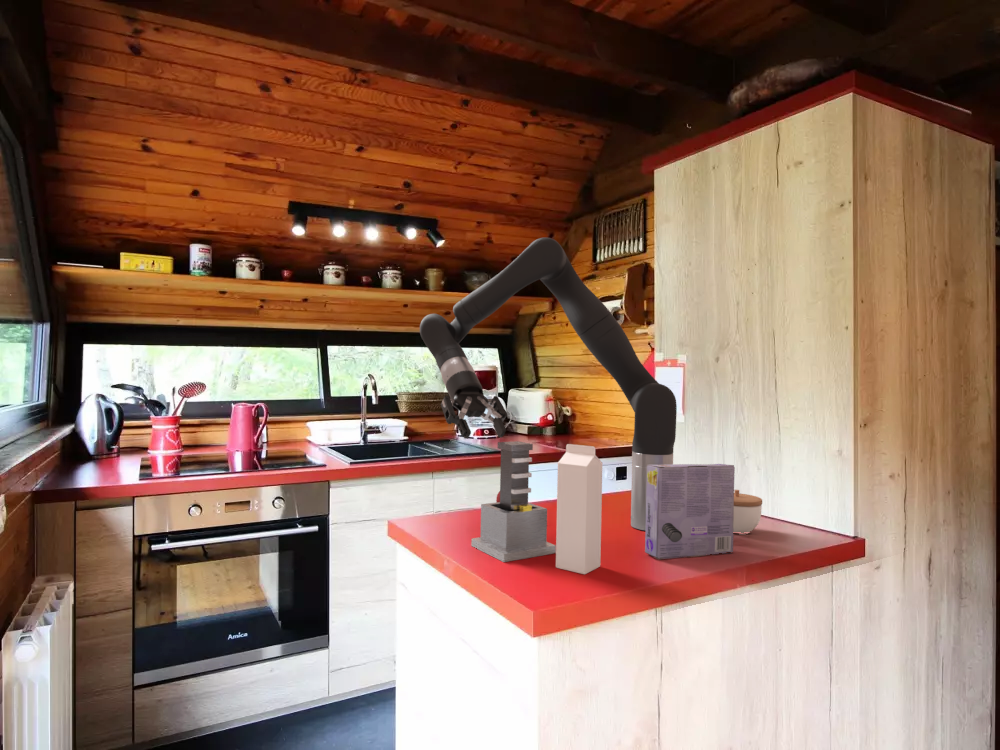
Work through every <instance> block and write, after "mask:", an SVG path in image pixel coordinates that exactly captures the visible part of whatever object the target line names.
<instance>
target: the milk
mask: <svg viewBox="0 0 1000 750" xmlns="http://www.w3.org/2000/svg"><path fill="white" fill-rule="evenodd" d="M556 484H557V485H556V486H557V489H556V490H557V491H556V492H557V494H556V537H555V540H556V541H555V542H556V543H555V545H556V553H555V568H557V569H560V570H565V571H569V572H573V573H578V574H580V575H586V574H588V573H590V572H592V571H595V570H596V569H599V567H601V553H602V552H601V551H602V550H601V546H602V504H603V503H602V500H603V492H602V491H603V462H602V461H601V459H600V458H599V457H598V456H597V455H596V447H595V446H592V445H583V444H572V443H567V444H566V446H565V453H564V454H563V455H562V456H561V458H560V459H559V460H558V462H557V483H556Z"/></svg>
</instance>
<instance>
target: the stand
mask: <svg viewBox="0 0 1000 750" xmlns="http://www.w3.org/2000/svg"><path fill="white" fill-rule="evenodd" d="M529 503H530V504H531V505H529V504H526V505H520V510H519V511H511V512H508V511H505V510H502V509H500V502H490V503H481V504H480V537H479V536H478V537H474V538H471V544H470V546H471V547H472V548H474V547H475V548H474V549H476V548H477V550H478V551H481V552H483V553H484V554H486V555H488V556H491V557H493V558H494V559H496V560H498V561H501V563H506V562H507V563H508V562H512V561H518V560H524V559H525V560H526V559H529V558H536V557H541V556H546V555H548V556H549V555H552V554H553V555H554V554H556V544H553V543H551V542H548V541H547V537H548V536H547V535H548V534H547V532H548V530H547V529H548V508H546V507H543V506H540V505H537V504H533V503H531V502H529Z"/></svg>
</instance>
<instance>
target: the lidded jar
mask: <svg viewBox="0 0 1000 750" xmlns="http://www.w3.org/2000/svg"><path fill="white" fill-rule="evenodd" d="M762 505H763V499H762V498H761V497H759V496H756V495H752V494H746V493H740V489H734V522H733V528H734V531H733V532H741V533H744V532H750V531H751V532H752V531H753V530H754V529H756V528H757V526H758V525H759V523H760V521H761V517H762V509H763V507H762Z"/></svg>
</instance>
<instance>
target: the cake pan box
mask: <svg viewBox="0 0 1000 750" xmlns="http://www.w3.org/2000/svg"><path fill="white" fill-rule="evenodd" d="M735 469H736V468H735V465H733V464H726V463H725V464H724V463H713V464H712V463H709V464H707V463H703V464H702V463H700V464H698V463H696V464H695V463H694V464H693V463H682V464H681V463H679V464H678V463H677V464H674V463H673V464H671V465H647V489H646V530H645V533H644V534H645V535H644V537H645V540H644V541H645V542H644V545H645V546H644V553H646V554H648V555H649V556H651V557H652V558H655V559H656V560H664V559H665V560H667V559H678V558H693V557H695V558H696V557H705V556H711V555H710V554H712V555H720V554H719V553H722V554H727V553H726V552H733V553H734V534H733V531H734V528H733V522H734V490H735V474H736V473H735V471H736V470H735Z"/></svg>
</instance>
